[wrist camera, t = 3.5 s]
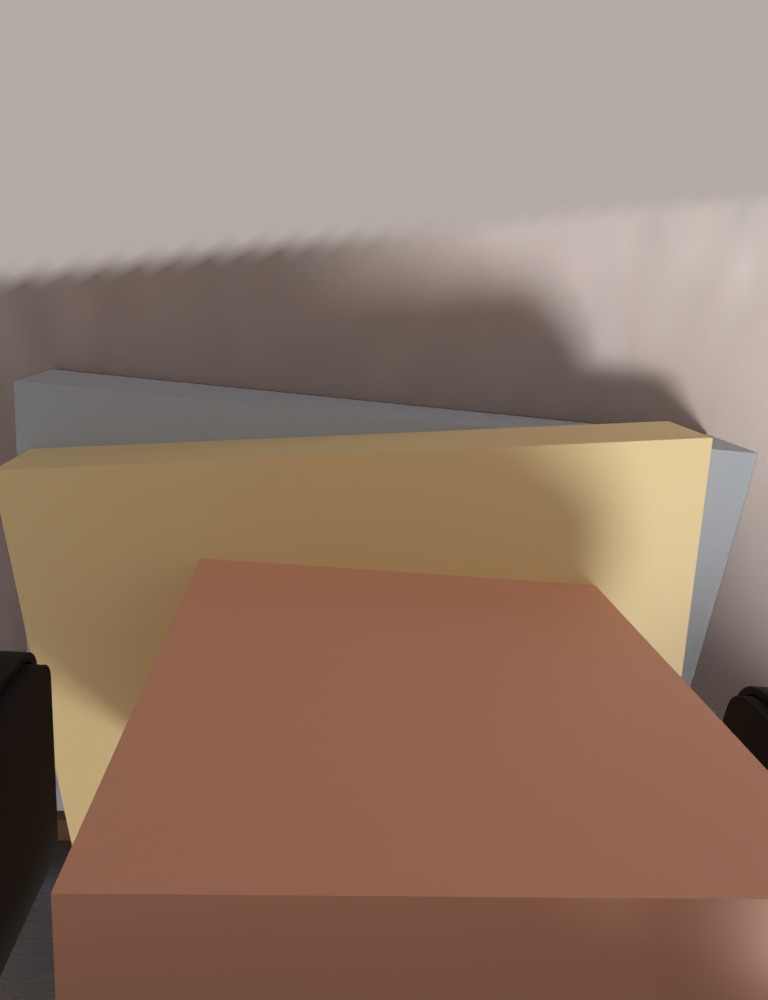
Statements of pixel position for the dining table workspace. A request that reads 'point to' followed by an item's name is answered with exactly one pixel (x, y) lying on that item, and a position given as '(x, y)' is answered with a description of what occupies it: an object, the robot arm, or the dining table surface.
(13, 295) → the dining table surface
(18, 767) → the robot arm
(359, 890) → the terracotta book
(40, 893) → the bookend
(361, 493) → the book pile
